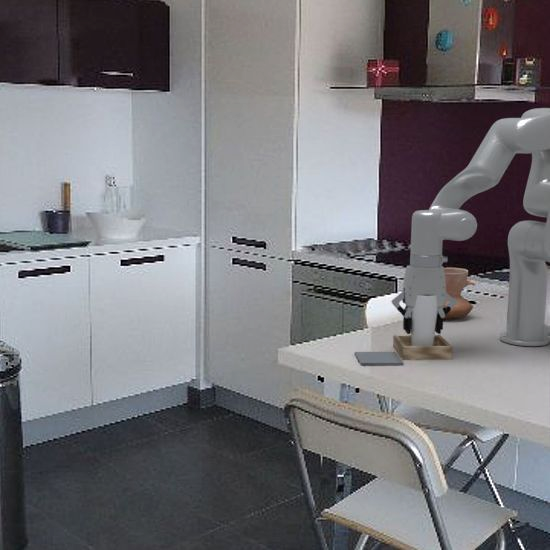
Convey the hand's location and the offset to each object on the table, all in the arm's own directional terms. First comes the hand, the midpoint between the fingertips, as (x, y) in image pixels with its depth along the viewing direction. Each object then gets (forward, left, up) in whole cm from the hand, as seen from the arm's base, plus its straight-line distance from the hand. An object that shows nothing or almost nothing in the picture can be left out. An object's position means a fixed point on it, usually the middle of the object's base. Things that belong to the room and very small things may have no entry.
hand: (422, 332), depth 209 cm
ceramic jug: (-16, -40, -6) cm, 43 cm away
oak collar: (0, 0, -5) cm, 5 cm away
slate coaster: (+12, +6, -5) cm, 14 cm away
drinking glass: (0, 0, -5) cm, 5 cm away
